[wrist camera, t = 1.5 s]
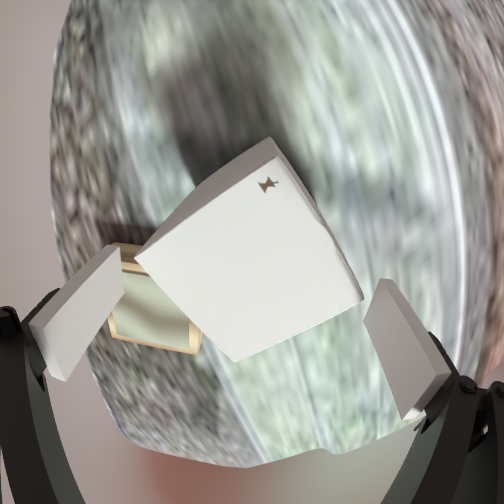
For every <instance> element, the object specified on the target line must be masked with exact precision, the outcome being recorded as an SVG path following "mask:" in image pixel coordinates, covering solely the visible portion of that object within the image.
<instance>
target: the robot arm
mask: <svg viewBox="0 0 504 504" xmlns="http://www.w3.org/2000/svg"><path fill="white" fill-rule="evenodd" d="M124 293H125V292H124V285H123V276H122V267H121V257H120V246H113V245H106V246H105V247H104V248H103V249H102V250H100V251H99V252H98V253H97V254H96V255H95V256H94V257H93V258H92V259H91V260H90V261H89V262H88V263H86V264H85V265H84V266H83V267H82V268H81V269H80V270H79V271H78V272H77V273H76V274H75V275H74V276H73V277H72V278H71V279H70V280H69V281H68V282H67V283H66V284H65V285H64V286H63V287H62V288H61V289H60V288H57V289H55V290H53V291H52V292H50V293H48V294H47V295H46V296H45V297H44V298H43V299H42V301H41V302H40V303H39V304H38V305H37V307H35V308H34V309H33V310H32V311H31V312H30V313H29V314H28V316H26V317H25V318H24V320H23V321H22V322H21V323H20V321H19V318H18V315H17V313H16V310H15V309H14V308H13V307H10V306H3V307H0V450H1V449H2V454H3V459H4V464H5V469H6V473H7V477H8V481H9V485H10V488H11V492H12V495H13V498H14V502H15V504H85V501H84V499H83V497H82V495H81V493H80V491H79V488H78V486H77V484H76V481H75V479H74V476H73V474H72V471H71V469H70V466H69V463H68V461H67V458H66V455H65V452H64V449H63V446H62V443H61V440H60V436H59V433H58V430H57V426H56V422H55V419H54V415H53V411H52V407H51V403H50V398H49V393H48V388H47V383H46V378H45V376H44V373H43V371H44V370H45V368H46V367H47V368H48V370H49V372H50V374H51V376H52V377H55V378H57V379H60V380H62V381H65V382H66V381H67V380H68V378H69V376H70V375H71V373H72V371H73V370H74V368H75V366H76V365H77V363H78V362H79V360H80V358H81V356H82V355H83V354H84V352H85V350H86V349H87V347H88V346H89V344H90V343H91V341H92V340H93V338H94V336H95V335H96V333H97V332H98V330H99V329H100V327H101V326H102V324H103V323H104V321H105V320H106V318H107V317H108V316H109V314H110V313H111V311H112V310H113V308H114V307H115V305H116V304H117V303H118V301H119V300H120V298H121V297H122V296H123V294H124ZM364 324H365V326H366V328H367V331H368V333H369V335H370V338H371V340H372V343H373V345H374V347H375V350H376V352H377V355H378V357H379V360H380V362H381V365H382V367H383V370H384V372H385V375H386V378H387V380H388V383H389V386H390V388H391V391H392V394H393V396H394V399H395V402H396V405H397V407H398V410H399V413H400V416H401V419H402V420H405V419H411V418H417V416H418V415H419V414H420V413H421V412H422V411H423V409H424V410H425V412H426V416H425V417H424V418H423V420H422V421H421V422H420V423H419V424H418V425H417V426H416V427H415V429H414V431H416V430H417V429H418V428H419V430H418V432H417V435H416V437H415V439H414V441H413V444H412V446H411V448H410V450H409V452H408V454H407V457H406V459H405V461H404V463H403V465H402V467H401V469H400V470H399V472H398V474H397V476H396V478H395V480H394V482H393V483H392V485H391V487H390V489H389V490H388V492H387V494H386V495H385V497H384V499H383V501H382V502H381V504H504V383H502V382H500V381H495V382H493V383H492V384H491V386H490V387H489V388H488V389H482V388H478V386H477V384H476V383H475V382H474V380H472V379H471V378H469V377H467V376H464V375H463V376H460V375H459V373H458V371H457V369H456V368H455V366H454V364H453V363H452V361H451V359H450V358H449V356H448V354H446V351H445V349H444V348H443V346H442V345H441V343H440V341H439V340H438V338H436V337H435V336H434V335H433V334H432V333H431V332H427V330H426V329H425V327H424V326H423V324H422V323H421V321H420V320H419V318H418V317H417V315H416V314H415V312H414V310H413V309H412V307H411V306H410V305H409V303H408V302H407V300H406V299H405V297H404V296H403V294H402V293H401V291H400V290H399V289H398V287H397V286H396V284H395V283H394V282H393V280H390V279H381V278H380V279H379V282H378V285H377V288H376V290H375V293H374V296H373V298H372V301H371V304H370V306H369V309H368V311H367V314H366V316H365V319H364ZM487 425H488V432H487V433H486V434H484V428H486V426H487ZM0 504H2V494H1V475H0Z"/></svg>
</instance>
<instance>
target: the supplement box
mask: <svg viewBox="0 0 504 504" xmlns="http://www.w3.org/2000/svg"><path fill="white" fill-rule="evenodd" d="M134 259H135V260H136V261H137V262H138V263H139V264H140V265H141V267H142V268H143V269H144V270H145V271H146V272H147V273H148V274H149V276H150V277H151V278H152V279H153V280H154V281H155V282H156V283H157V285H158V286H159V287H160V288H161V289H162V290H163V291H164V292H165V293H166V294H167V296H168V297H169V298H170V299H171V300H172V301H173V302H174V303H175V304H176V305H177V306H178V307H179V308H180V309H181V311H182V312H183V313H184V314H185V315H186V316H187V317H188V318H189V319H190V320H191V321H192V322H193V323H194V324H195V325H196V326H197V327H198V328H199V329H200V330H201V331H202V332H203V333H204V334H205V335H206V336H207V337H208V338H209V339H210V340H211V341H212V342H213V343H214V344H215V345H216V346H217V347H218V348H219V349H220V350H221V351H222V352H223V353H225V354H226V355H227V356H228V357H229V358H230V359H231V360H232V361H233V362H234V363H235V362H237V361H239V360H241V359H244V358H246V357H249V356H251V355H254V354H256V353H258V352H261V351H263V350H265V349H267V348H269V347H271V346H273V345H275V344H277V343H279V342H282V341H284V340H286V339H288V338H290V337H292V336H294V335H297V334H299V333H301V332H303V331H305V330H307V329H309V328H311V327H313V326H315V325H318V324H320V323H322V322H324V321H326V320H328V319H330V318H332V317H334V316H336V315H338V314H339V313H341V312H343V311H345V310H347V309H349V308H350V307H352V306H354V305H356V304H357V303H359V302H361V301H362V300H364V295H363V292H362V290H361V288H360V286H359V284H358V282H357V280H356V277H355V275H354V273H353V272H352V270H351V268H350V266H349V264H348V262H347V260H346V258H345V256H344V254H343V252H342V250H341V248H340V246H339V245H338V243H337V241H336V239H335V237H334V235H333V234H332V232H331V230H330V228H329V226H328V225H327V223H326V221H325V219H324V218H323V216H322V214H321V212H320V211H319V209H318V207H317V206H316V204H315V202H314V201H313V199H312V197H311V196H310V194H309V192H308V191H307V189H306V188H305V186H304V184H303V183H302V181H301V180H300V178H299V177H298V175H297V174H296V172H295V171H294V169H293V168H292V166H291V165H290V163H289V162H288V160H287V159H286V158H285V156H284V155H283V153H282V152H281V150H280V149H279V147H278V146H277V145H276V143H275V142H274V140H273V139H272V138H271V137H270V136H269V137H267V138H265V139H264V140H262V141H260V142H259V143H257V144H256V145H254V146H253V147H251V148H249V149H248V150H246V151H245V152H243V153H242V154H240V155H239V156H237V157H236V158H234V159H233V160H231V161H230V162H229V163H227V164H226V165H224V166H223V167H221V168H220V169H219V170H217V171H216V172H214V173H213V174H212V175H210V176H209V177H208V178H206V179H205V180H204V181H203V182H201V183H200V184H199V185H198V186H197V187H196V188H195V189H194V190H193V191H192V192H191V193H190V194H189V195H188V196H187V197H186V198H185V199H184V201H183V202H182V203H181V204H180V205H179V206H178V207H177V208H176V209H175V210H174V212H173V213H172V214H171V215H170V216H169V217H168V218H167V219H166V220H165V222H164V223H163V224H162V225H161V226H160V227H159V228H158V229H157V230H156V232H155V233H154V234H153V235H152V236H151V237H150V238H149V240H148V241H147V242H146V243H145V244H144V245H143V246H142V248H141V249H140V250H139V251H138V252H137V254H136V255H135V256H134Z"/></svg>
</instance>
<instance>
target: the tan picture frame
mask: <svg viewBox="0 0 504 504" xmlns="http://www.w3.org/2000/svg"><path fill="white" fill-rule="evenodd" d="M111 245H113V246H120V257H121V267H122V276H123V285H124V292H125V293H124V294H123V296H122V297H121V298H120V300H119V301H118V303H117V304H116V305H115V307H114V308H113V310H112V311H111V313H110V314H109V316H108V321H109V326H110V330H111V334H112V337H114V338H118V339H122V340H126V341H130V342H134V343H139V344H143V345H148V346H153V347H158V348H163V349H168V350H173V351H179V352H184V353H190V354H196V355H198V353H199V349H200V345H201V342H202V338H203V334H204V333H203V332H202V331H201V330H200V329H199V328H198V327H197V326H196V325H195V324H194V323H193V322H192V321H191V320H190V319H189V318H188V317H187V316H186V315H185V314H184V313H183V312H182V311H181V309H180V308H179V307H178V306H177V305H176V304H175V303H174V302H173V301H172V300H171V299H170V298H169V297H168V296H167V294H166V293H165V292H164V291H163V290H162V289H161V288H160V287H159V286H158V285H157V283H156V282H155V281H154V280H153V279H152V278H151V277H150V276H149V274H148V273H147V272H146V271H145V270H144V269H143V268H142V267H141V265H140V264H139V263H138V262H137V261H136V260H135V259H134V256H135V255H136V254H137V252H138V251H139V250H140V249H141V248H142V246H140V245H133V244H125V243H118V242H113V243H112V244H111Z"/></svg>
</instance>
